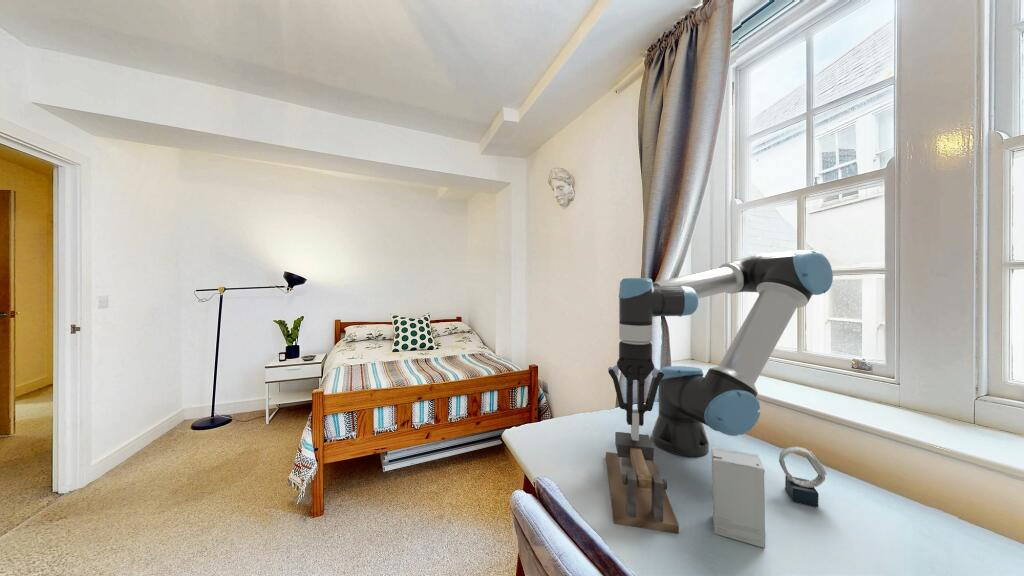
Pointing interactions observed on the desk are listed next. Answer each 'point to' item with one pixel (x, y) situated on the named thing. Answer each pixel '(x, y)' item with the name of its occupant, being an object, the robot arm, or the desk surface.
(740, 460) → the skincare box
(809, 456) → the watch
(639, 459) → the lever
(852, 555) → the desk surface
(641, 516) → the press base
